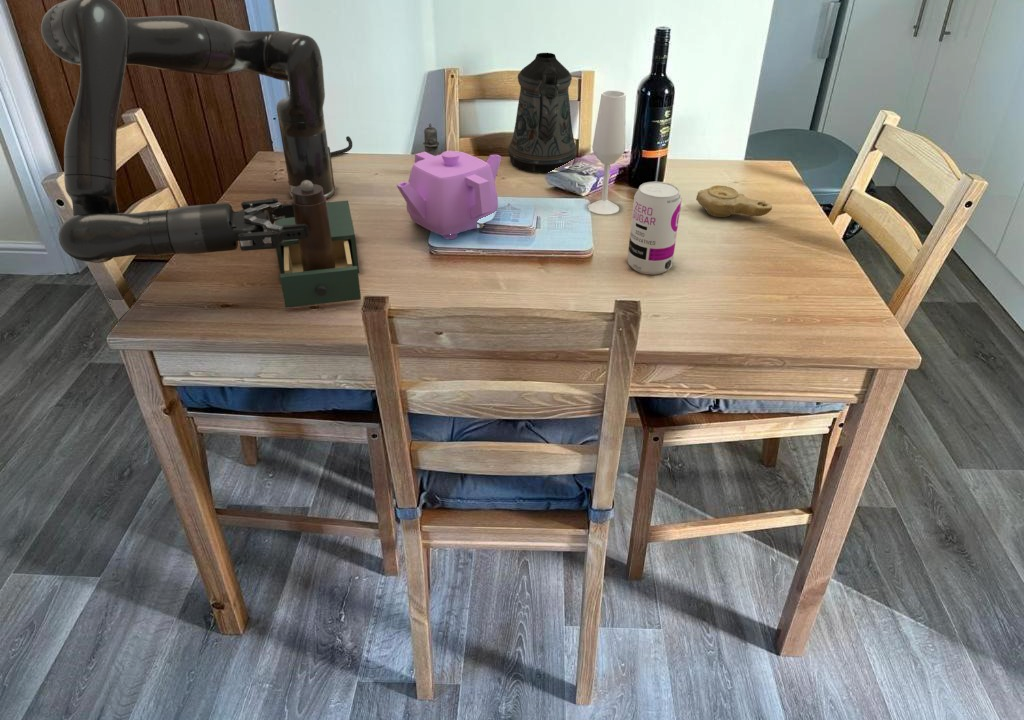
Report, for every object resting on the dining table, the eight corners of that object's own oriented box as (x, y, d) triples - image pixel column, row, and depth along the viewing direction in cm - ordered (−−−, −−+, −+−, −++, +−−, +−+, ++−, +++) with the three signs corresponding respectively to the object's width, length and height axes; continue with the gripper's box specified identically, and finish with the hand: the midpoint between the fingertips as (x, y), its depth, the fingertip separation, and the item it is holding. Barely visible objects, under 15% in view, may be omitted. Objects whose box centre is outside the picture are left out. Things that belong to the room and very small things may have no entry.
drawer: (361, 303, 127) (358, 272, 124) (285, 311, 125) (279, 280, 121) (353, 260, 140) (350, 231, 136) (284, 267, 137) (279, 238, 134)
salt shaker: (441, 180, 175) (439, 128, 168) (416, 178, 176) (413, 126, 169) (448, 171, 180) (446, 120, 173) (424, 169, 180) (421, 118, 174)
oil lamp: (770, 225, 157) (775, 202, 154) (701, 224, 157) (705, 201, 154) (756, 204, 165) (761, 182, 163) (691, 204, 165) (694, 182, 162)
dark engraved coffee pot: (550, 146, 195) (555, 42, 180) (596, 170, 181) (605, 60, 167) (495, 157, 187) (495, 50, 173) (539, 183, 174) (543, 70, 160)
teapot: (400, 244, 148) (394, 169, 139) (411, 206, 163) (407, 136, 154) (499, 246, 148) (499, 171, 139) (501, 208, 162) (501, 138, 154)
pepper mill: (315, 271, 134) (300, 172, 124) (342, 276, 133) (329, 176, 122) (298, 285, 130) (281, 184, 119) (326, 290, 128) (312, 188, 118)
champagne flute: (584, 211, 161) (592, 96, 148) (592, 199, 167) (601, 87, 153) (615, 216, 159) (626, 100, 146) (622, 204, 165) (634, 91, 151)
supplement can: (674, 259, 144) (685, 183, 135) (667, 279, 137) (678, 201, 129) (632, 252, 146) (640, 177, 137) (623, 271, 139) (631, 194, 131)
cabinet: (359, 273, 138) (354, 234, 133) (282, 281, 135) (274, 242, 131) (352, 236, 150) (348, 200, 146) (281, 243, 147) (274, 206, 143)
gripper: (193, 225, 113) (305, 215, 117) (201, 189, 125) (302, 181, 128) (204, 270, 118) (312, 259, 121) (211, 231, 129) (309, 222, 132)
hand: (307, 219), depth 124 cm, fingers open, 8 cm apart
